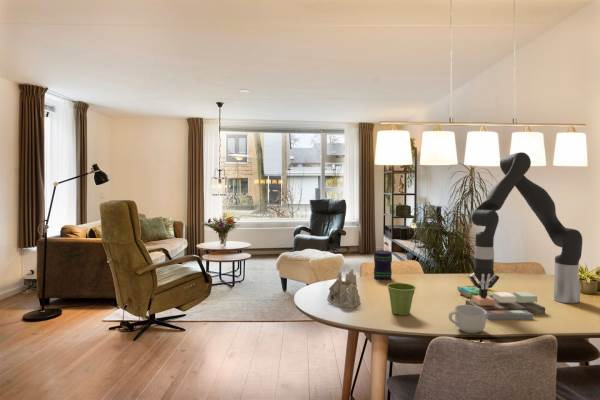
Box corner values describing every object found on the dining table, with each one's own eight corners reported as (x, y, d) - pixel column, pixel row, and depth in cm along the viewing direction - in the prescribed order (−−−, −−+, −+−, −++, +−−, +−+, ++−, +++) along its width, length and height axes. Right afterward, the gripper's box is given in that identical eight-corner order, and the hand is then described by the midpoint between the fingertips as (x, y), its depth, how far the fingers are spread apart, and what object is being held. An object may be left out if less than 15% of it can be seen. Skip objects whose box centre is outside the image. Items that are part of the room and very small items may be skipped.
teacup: (477, 325, 158) (478, 304, 158) (492, 335, 147) (492, 313, 147) (441, 325, 157) (441, 304, 157) (453, 336, 147) (453, 313, 146)
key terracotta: (487, 300, 180) (487, 295, 180) (494, 305, 174) (494, 299, 174) (472, 301, 180) (472, 295, 180) (479, 305, 173) (479, 299, 173)
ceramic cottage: (332, 295, 199) (333, 264, 198) (365, 301, 192) (366, 269, 190) (318, 305, 186) (319, 272, 184) (353, 312, 178) (354, 278, 176)
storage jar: (370, 277, 237) (370, 251, 236) (383, 275, 241) (384, 250, 241) (381, 281, 228) (381, 254, 227) (395, 279, 233) (395, 252, 232)
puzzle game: (478, 283, 205) (508, 293, 186) (477, 292, 206) (508, 304, 186) (457, 284, 202) (485, 295, 183) (457, 294, 202) (485, 306, 183)
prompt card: (525, 315, 170) (525, 309, 170) (533, 319, 165) (533, 313, 165) (482, 315, 169) (482, 310, 169) (488, 319, 164) (488, 313, 164)
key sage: (528, 297, 181) (528, 292, 181) (537, 301, 174) (537, 296, 174) (513, 297, 181) (513, 292, 180) (521, 302, 174) (522, 296, 174)
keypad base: (528, 305, 184) (528, 299, 184) (545, 313, 172) (545, 307, 172) (465, 305, 183) (465, 300, 183) (478, 314, 171) (478, 308, 171)
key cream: (507, 297, 180) (507, 292, 180) (516, 302, 174) (516, 296, 174) (492, 297, 180) (493, 292, 180) (500, 302, 174) (500, 296, 174)
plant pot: (402, 319, 164) (403, 291, 164) (380, 312, 174) (380, 285, 173) (421, 314, 171) (422, 286, 171) (399, 307, 181) (399, 281, 180)
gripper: (495, 255, 180) (494, 295, 181) (464, 255, 180) (463, 295, 180) (504, 258, 173) (503, 300, 173) (472, 258, 172) (471, 300, 173)
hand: (483, 297), depth 177 cm, fingers closed
